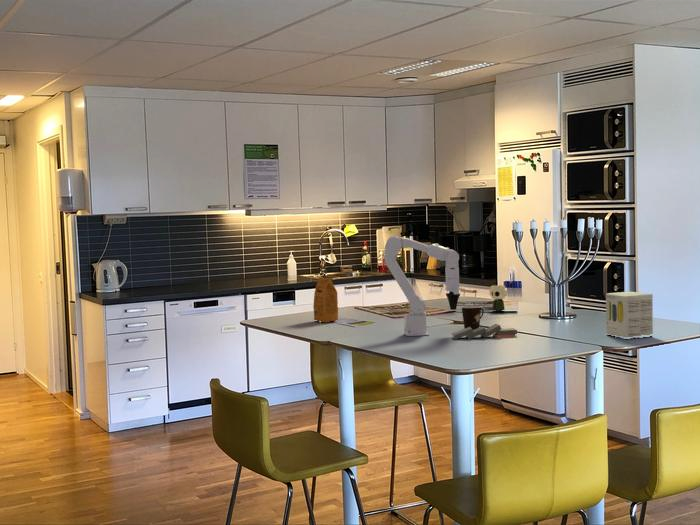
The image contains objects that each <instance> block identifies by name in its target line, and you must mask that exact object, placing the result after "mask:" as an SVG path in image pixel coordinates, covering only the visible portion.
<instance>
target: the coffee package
mask: <svg viewBox="0 0 700 525" xmlns="http://www.w3.org/2000/svg"><path fill="white" fill-rule="evenodd" d="M333 281H334V279H333V278H332V277H322V276H320V275H319V278H318V280H317V282H316V287H315V290H314V294H313V305H312V306H313V321H314V320H317V321H321V322H329V323H331V322H330V321H334V322H336V320H337V321H339V306H338V305H339V303H338V302H339V300H338V291H337V289H336V287H335V286H334V283H333Z"/></svg>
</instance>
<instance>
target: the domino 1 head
mask: <svg viewBox="0 0 700 525" xmlns="http://www.w3.org/2000/svg"><path fill="white" fill-rule="evenodd" d="M471 333H473V330H472V328H471V327H468V328H464V329H460V330H457V331H455V332H453V333H451V335H452V338H453V339H454V340H458V339H461V338H463V337H466V335H469V334H471Z"/></svg>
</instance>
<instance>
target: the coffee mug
mask: <svg viewBox="0 0 700 525" xmlns="http://www.w3.org/2000/svg"><path fill="white" fill-rule="evenodd" d="M484 311H485V310H484V309H483V308H482V306H481V305H463V306H461V313H462V320H463V327H464V329H465V328H468V327H471V328H472V330H475V329H477V328H480V325H481V324H480V323H481V319H482V318H483V317H484ZM481 312H482V313H481Z"/></svg>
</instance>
